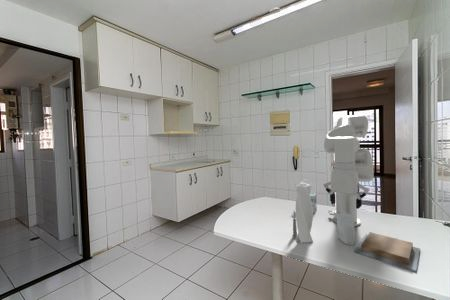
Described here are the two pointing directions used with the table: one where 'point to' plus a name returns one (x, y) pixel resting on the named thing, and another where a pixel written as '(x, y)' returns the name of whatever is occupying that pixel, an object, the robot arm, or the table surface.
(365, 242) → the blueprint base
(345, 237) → the skincare box
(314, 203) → the light bulb box
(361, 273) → the table surface
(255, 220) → the table surface
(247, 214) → the table surface
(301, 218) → the skyscraper
